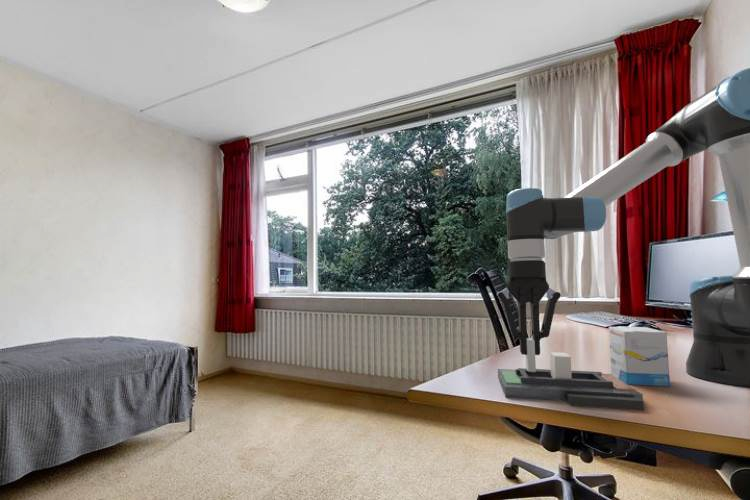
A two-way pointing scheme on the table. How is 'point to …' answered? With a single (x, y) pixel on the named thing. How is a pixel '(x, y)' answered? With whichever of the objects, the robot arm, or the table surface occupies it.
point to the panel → (561, 385)
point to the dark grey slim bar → (571, 371)
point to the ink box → (639, 355)
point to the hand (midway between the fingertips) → (530, 370)
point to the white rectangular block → (560, 365)
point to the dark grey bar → (605, 401)
